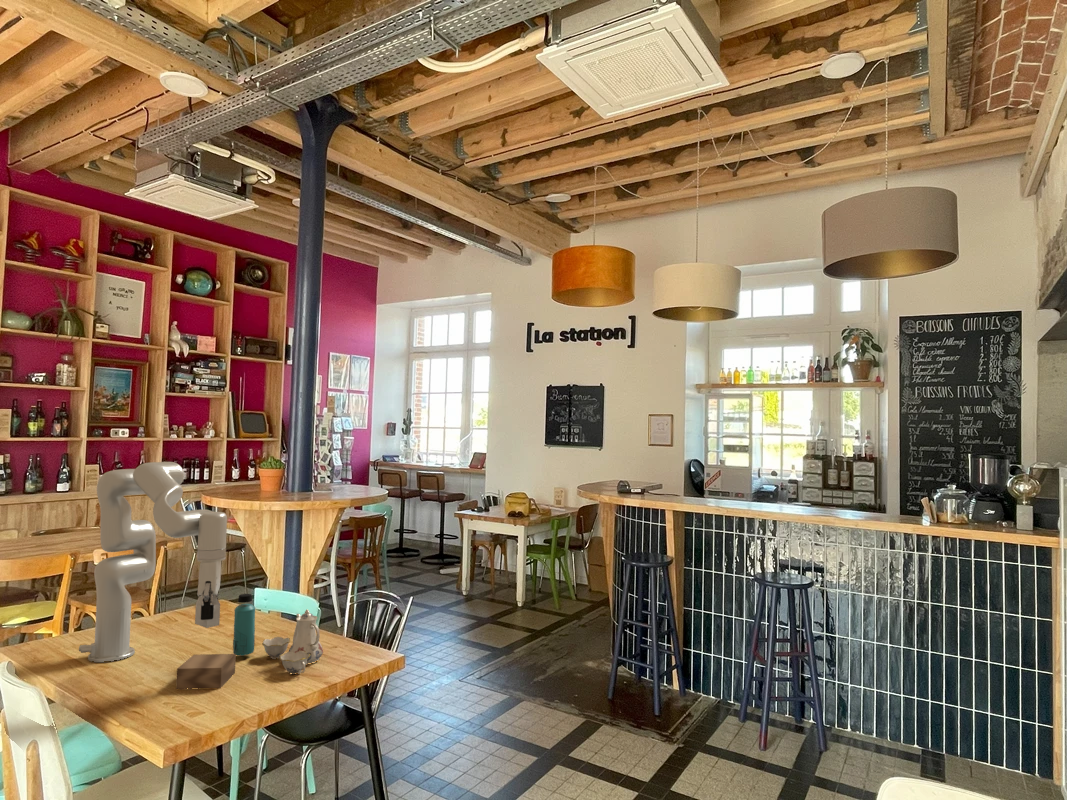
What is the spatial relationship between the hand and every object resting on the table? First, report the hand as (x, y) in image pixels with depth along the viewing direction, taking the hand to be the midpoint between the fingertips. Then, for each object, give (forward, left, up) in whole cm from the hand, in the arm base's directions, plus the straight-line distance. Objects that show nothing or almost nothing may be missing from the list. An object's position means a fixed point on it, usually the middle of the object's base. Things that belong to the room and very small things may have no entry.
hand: (209, 615), depth 193 cm
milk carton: (-1, 0, -3) cm, 3 cm away
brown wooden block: (0, 0, -19) cm, 19 cm away
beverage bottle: (+8, +19, -19) cm, 28 cm away
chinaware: (+24, +9, -19) cm, 32 cm away
